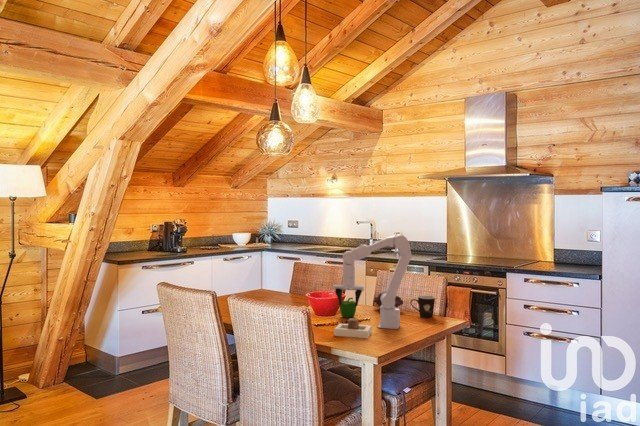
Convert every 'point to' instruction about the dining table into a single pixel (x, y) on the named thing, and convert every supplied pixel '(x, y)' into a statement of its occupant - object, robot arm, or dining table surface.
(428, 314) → the coffee mug
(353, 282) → the robot arm
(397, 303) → the pine cone
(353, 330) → the well trough
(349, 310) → the bell pepper
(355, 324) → the bracket block
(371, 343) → the dining table surface
